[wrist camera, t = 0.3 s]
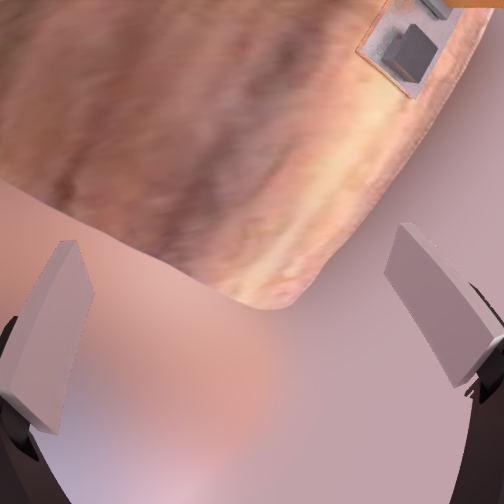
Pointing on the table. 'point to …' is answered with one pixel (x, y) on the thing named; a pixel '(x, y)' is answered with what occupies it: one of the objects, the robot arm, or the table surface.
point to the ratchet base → (397, 30)
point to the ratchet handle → (459, 5)
